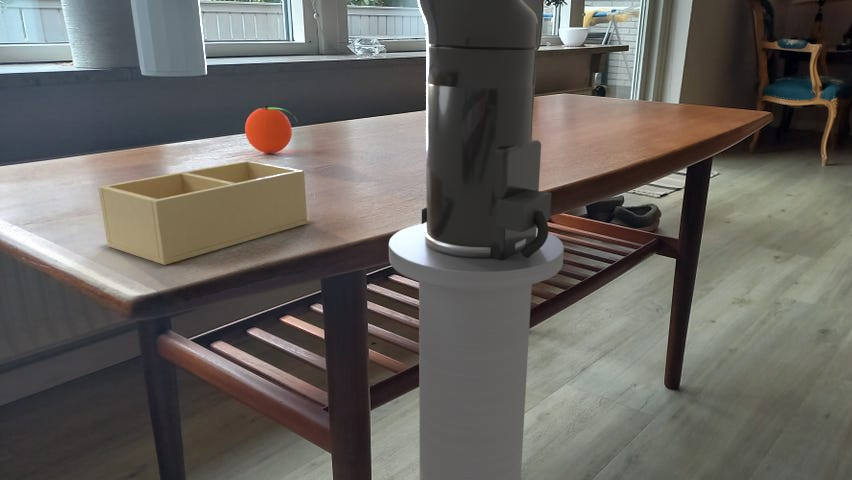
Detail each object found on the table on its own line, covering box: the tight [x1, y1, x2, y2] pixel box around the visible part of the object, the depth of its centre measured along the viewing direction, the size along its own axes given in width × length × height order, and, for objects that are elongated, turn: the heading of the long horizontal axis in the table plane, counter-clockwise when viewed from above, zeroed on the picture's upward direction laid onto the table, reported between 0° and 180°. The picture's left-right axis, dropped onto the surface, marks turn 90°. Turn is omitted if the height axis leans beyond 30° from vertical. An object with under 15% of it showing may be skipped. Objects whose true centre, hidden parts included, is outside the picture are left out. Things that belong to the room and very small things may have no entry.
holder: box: [97, 159, 308, 266], centre depth 65 cm, size 8×16×6 cm, turn 147°
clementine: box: [244, 105, 298, 154], centre depth 106 cm, size 8×7×7 cm
